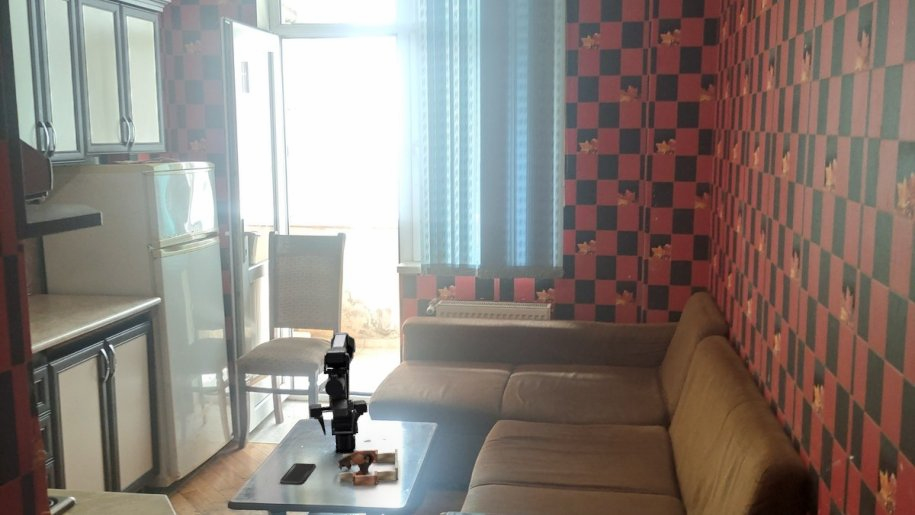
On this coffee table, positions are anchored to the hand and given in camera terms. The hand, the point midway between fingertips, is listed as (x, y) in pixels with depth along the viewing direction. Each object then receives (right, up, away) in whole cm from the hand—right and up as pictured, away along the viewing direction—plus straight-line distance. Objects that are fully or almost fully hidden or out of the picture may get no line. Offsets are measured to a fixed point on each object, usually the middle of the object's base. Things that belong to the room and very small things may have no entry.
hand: (339, 433), depth 272 cm
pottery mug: (+6, -13, -1) cm, 14 cm away
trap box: (+10, -12, 0) cm, 16 cm away
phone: (-13, -14, -1) cm, 19 cm away
